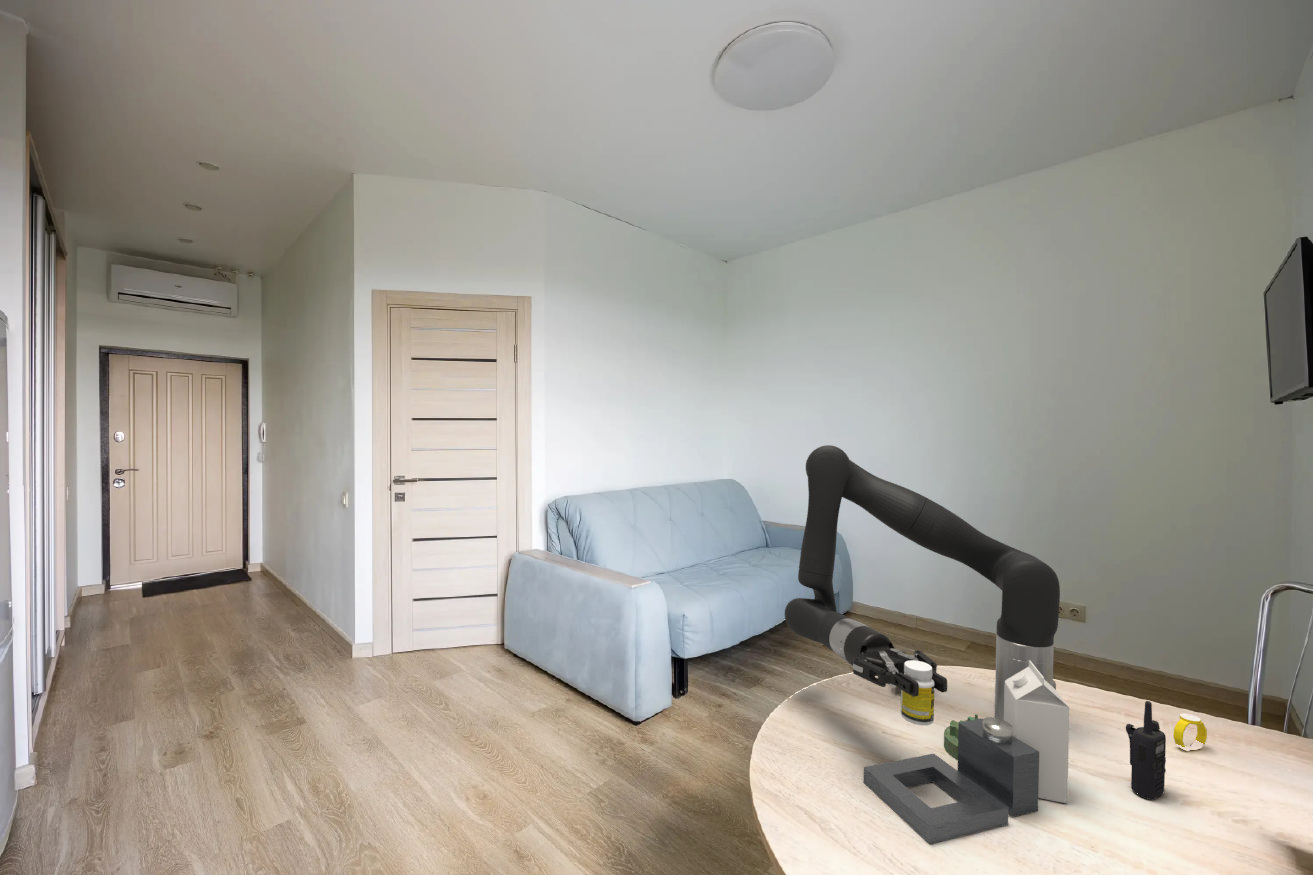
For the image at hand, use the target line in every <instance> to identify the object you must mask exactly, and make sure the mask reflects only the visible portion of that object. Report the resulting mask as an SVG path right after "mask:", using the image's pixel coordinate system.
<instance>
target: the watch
mask: <svg viewBox="0 0 1313 875" xmlns="http://www.w3.org/2000/svg"><path fill="white" fill-rule="evenodd" d="M1189 725H1196V733H1197V734H1196V736H1195V739H1194V741H1195V740H1197V741H1199V742H1201V743H1203V744H1204V745H1206V743H1207V742H1206V741H1207V739H1208V731H1207V728H1206V725H1205V724H1204V722H1202V719H1201V718H1200V717H1198V716H1196V715H1194V714H1191V713H1185V712H1184V713H1180V714H1179V720H1178V721H1177V722H1176V724H1175V726H1174V728H1173V733H1172V734H1173V740H1174V744H1175V745H1176V744H1178V745H1181V746H1182V747H1185V746H1186V745H1185V744H1184V733H1185V731H1186V730H1187V727H1188V726H1189Z"/></svg>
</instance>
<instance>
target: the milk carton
mask: <svg viewBox="0 0 1313 875" xmlns="http://www.w3.org/2000/svg"><path fill="white" fill-rule="evenodd" d="M1004 721H1006V722H1008V723H1009V724H1011V725H1012V736H1013V737H1015V738H1017V739H1019V740H1020V741H1022V742H1024V743H1025V744H1027V745H1029V746H1031V747H1032V748H1034V749H1036V750H1037V751H1039V788H1038V799H1042V800H1047V801H1053V802H1056V803H1063V804H1068V786H1069V785H1068V784H1069V780H1068V779H1069V742H1070V741H1069V740H1070V706H1069V705H1068V704H1067V702H1066V701H1065V700H1064V699H1063V697H1062V696H1061V695H1060V693H1059V692H1057V689H1056V690H1055V689H1054V688H1053V687H1052V686H1051V685H1050V684H1049V683H1048V682H1047V681H1045V680H1044V677H1043V676H1042V675H1041V673H1040V672H1039V671H1038V670H1037V668H1036V667H1035V666H1034V665H1033V663H1032V662H1031V661H1030V660H1029V667H1027V668H1025V669H1024V670H1022V671H1020V672H1019V673H1017V674H1015V675H1014V676H1012V677H1010V678H1008V679H1007V680H1005V690H1004Z"/></svg>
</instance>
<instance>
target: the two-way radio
mask: <svg viewBox="0 0 1313 875" xmlns="http://www.w3.org/2000/svg"><path fill="white" fill-rule="evenodd" d="M1152 707H1153V705H1152V702H1151V701H1150V700H1146V701H1145V702H1144V711H1143V712H1144V714H1143V726H1140V727H1135V725H1134V724H1131V723H1127V724H1126V726H1125V731H1126V734H1127V735H1128V740H1129V764H1130V767H1131V779H1130V781H1131V783H1130V788H1131V790H1132V791H1133V792H1134V793H1135V792H1136V793H1138V794H1137V795H1138V796H1140V797H1142V798H1144V797H1145V798H1144V799H1147V798H1148V800H1149V799H1150V800H1152V799H1153V800H1155V799H1157V798H1159V797H1161V796H1162V795H1163V794H1164V793H1165V782H1166V781H1165V779H1166V778H1165V774H1166V772H1167V770H1166V761H1167V760H1166V758H1167V757H1166V743H1167V741H1166V734H1165V732H1164V731H1162V730H1161V728H1160V722H1158V721H1157V720H1154V719H1153V708H1152ZM1163 792H1164V793H1163ZM1136 793H1135V794H1136ZM1160 795H1161V796H1160ZM1158 796H1159V797H1158Z"/></svg>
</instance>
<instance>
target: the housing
mask: <svg viewBox="0 0 1313 875" xmlns="http://www.w3.org/2000/svg"><path fill="white" fill-rule="evenodd" d="M964 721H965V722H959V721H958V722H959V725H958V760H957V769H956V768H954V767H953V766H952V765H951V764H949V763H948V762H946V761H945V760H944V759H943V758H941V757H940V756H938V755H937V754H935V753H930V754H925V755H924V754H923V755H920V756H914V757H910V758H904V759H899V760H898V759H897V760H894V761H888V762H884V763H879V764H872V765H868V766H863V784H865V785H866V787H867V788H869V789H870V790H871V791H872V792H873V793H874V794H875V795H876V796H878V797H879V799H880V800H882V801H883V803H885V804H886V806H888V807H889V808H890V809H891V810H892V811H893V812H894V813H895V814H896V815H898V817H900V818H901V820H902V821H904V822H905V823H906V824H908V826H909V827H910V828H911V829H912V830H914V832H916V834H918V835H919V837H921V838H922V839H923V840H924V841H925V842H927V843H928V845H933V844H937V843H941V842H946V841H949V840H953V839H957V838H961V837H964V836H965V837H966V836H968V835H973V834H977V833H981V832H985V831H988V830H993V829H997V828H1001V827H1005V826H1008V825H1009V816H1010V817H1011V818H1016V817H1020V816H1024V815H1028V814H1031V813H1036V812H1038V811H1039V798H1038V788H1039V751H1037V750H1036V749H1034V748H1032V747H1031V746H1029V745H1027V744H1025V743H1024V742H1022V741H1020V740H1019V739H1017V738H1015V737H1013V736H1012V725H1011V724H1009V723H1008V722H1006V721H1004V720H1001V719H998V718H995V717H992V716H991V717H990V716H988V717H987V716H986V717H984V718H983V717H982V718H981V719H980V718H979V719H976V720H970V721H966V720H964ZM930 783H933V784H935V785H936V786H937V787H938V788H940V789H941V790H942V791H944V792H945V793H946V794H947V795H948V796H950V797H951V798H953V800H955V801H956V802H951V803H948V804H944V805H940V806H934V807H931V806H929V805H928V804H927V803H926V802H924V801H923V800H922V799H921V798H920V797H919V796H917V795H916V794H915V793H914V792H913V791H912V790H910V788H911V787H912V788H913V787H916V786H921V785H925V784H930Z"/></svg>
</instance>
